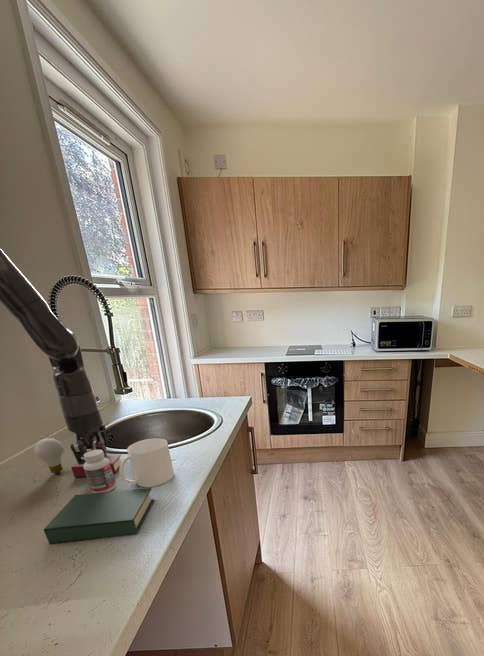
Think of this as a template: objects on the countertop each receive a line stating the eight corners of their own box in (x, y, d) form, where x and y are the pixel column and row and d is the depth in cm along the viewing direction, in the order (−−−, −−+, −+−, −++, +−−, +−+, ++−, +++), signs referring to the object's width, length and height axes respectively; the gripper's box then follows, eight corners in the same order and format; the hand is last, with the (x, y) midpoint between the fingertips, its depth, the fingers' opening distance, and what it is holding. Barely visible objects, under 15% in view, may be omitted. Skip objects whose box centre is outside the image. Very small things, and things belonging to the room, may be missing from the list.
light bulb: (41, 480, 90) (27, 445, 86) (47, 470, 95) (34, 437, 91) (68, 475, 92) (56, 441, 88) (72, 466, 97) (61, 433, 93)
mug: (168, 466, 95) (161, 435, 92) (179, 479, 89) (171, 446, 85) (120, 481, 89) (110, 448, 85) (127, 496, 82) (117, 461, 78)
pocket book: (74, 477, 91) (71, 467, 90) (84, 467, 96) (81, 458, 95) (115, 473, 92) (112, 463, 91) (123, 464, 97) (120, 454, 96)
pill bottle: (115, 491, 84) (104, 455, 80) (89, 496, 82) (77, 460, 78) (117, 480, 89) (107, 446, 85) (93, 486, 87) (81, 450, 83)
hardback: (49, 544, 67) (43, 529, 66) (79, 508, 78) (74, 495, 77) (137, 534, 69) (133, 519, 68) (154, 500, 80) (151, 487, 79)
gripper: (78, 402, 93) (96, 458, 100) (48, 421, 80) (70, 484, 87) (108, 400, 94) (124, 456, 101) (83, 418, 81) (102, 481, 88)
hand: (99, 469), depth 94 cm, fingers closed on pocket book, 5 cm apart
